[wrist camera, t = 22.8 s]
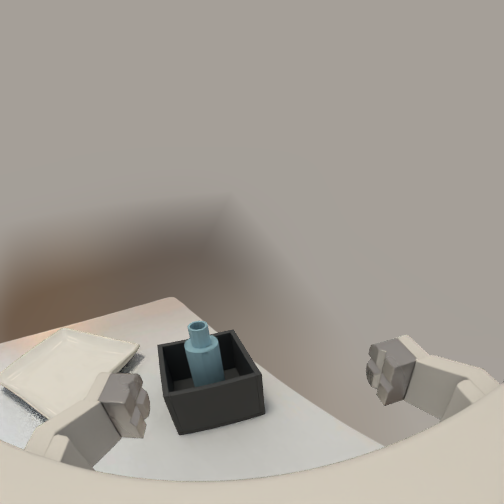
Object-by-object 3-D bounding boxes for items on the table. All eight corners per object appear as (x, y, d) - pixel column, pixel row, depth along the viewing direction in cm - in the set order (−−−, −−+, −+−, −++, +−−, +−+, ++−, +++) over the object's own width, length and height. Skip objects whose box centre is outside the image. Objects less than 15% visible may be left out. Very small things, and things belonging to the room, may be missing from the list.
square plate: (70, 440, 29) (59, 424, 28) (0, 390, 35) (-8, 376, 34) (145, 356, 55) (140, 341, 54) (67, 337, 61) (62, 324, 60)
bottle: (223, 383, 45) (210, 314, 41) (231, 401, 40) (218, 330, 37) (195, 389, 43) (178, 321, 40) (201, 409, 39) (182, 337, 35)
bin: (238, 366, 50) (233, 329, 48) (265, 413, 38) (261, 374, 36) (168, 382, 46) (157, 344, 44) (179, 435, 34) (163, 397, 32)
